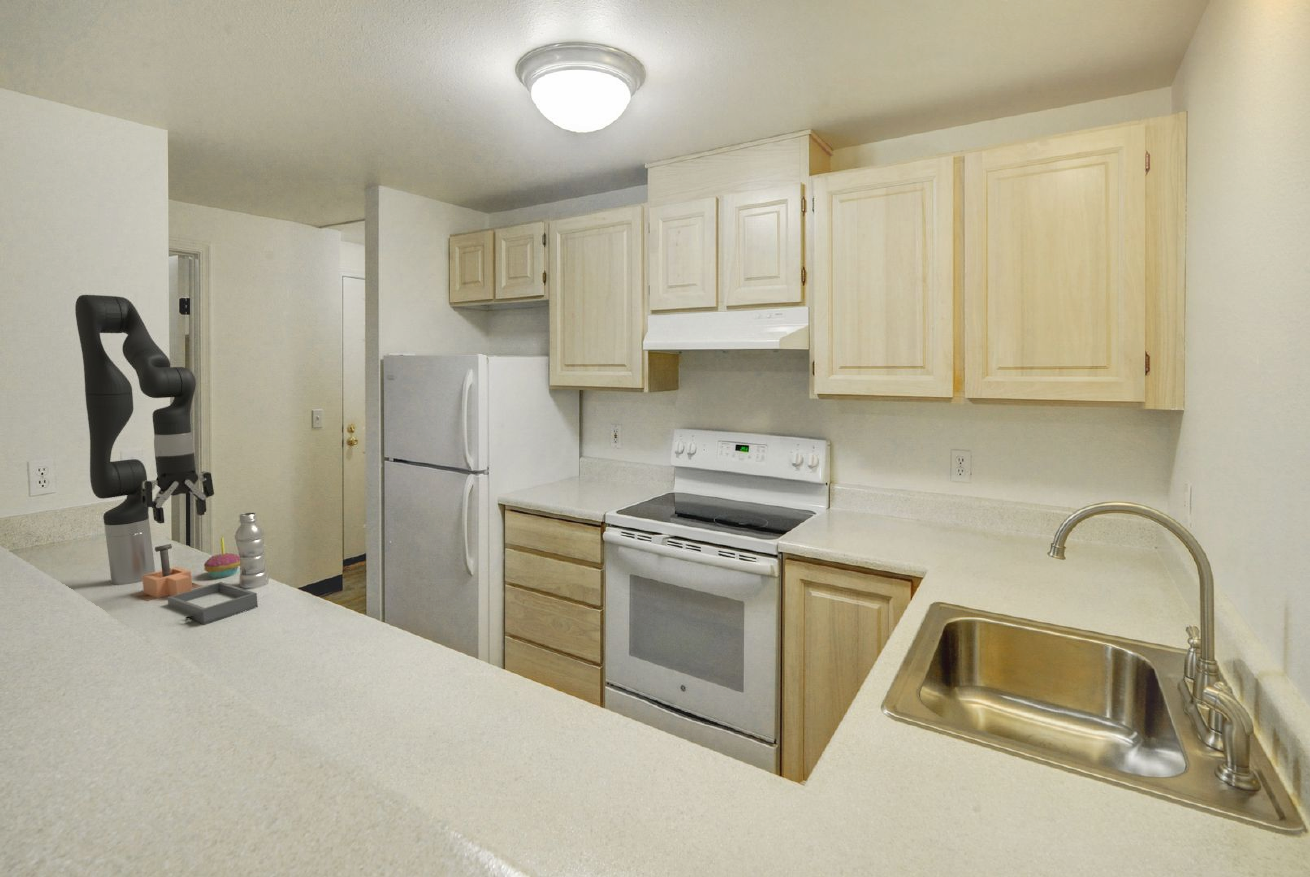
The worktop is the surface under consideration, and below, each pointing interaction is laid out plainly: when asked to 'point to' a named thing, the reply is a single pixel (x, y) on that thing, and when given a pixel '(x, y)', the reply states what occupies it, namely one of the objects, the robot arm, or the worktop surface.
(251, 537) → the plastic bottle
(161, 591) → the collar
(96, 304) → the robot arm
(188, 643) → the worktop surface
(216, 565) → the cupcake
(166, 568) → the stake stand
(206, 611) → the tray
